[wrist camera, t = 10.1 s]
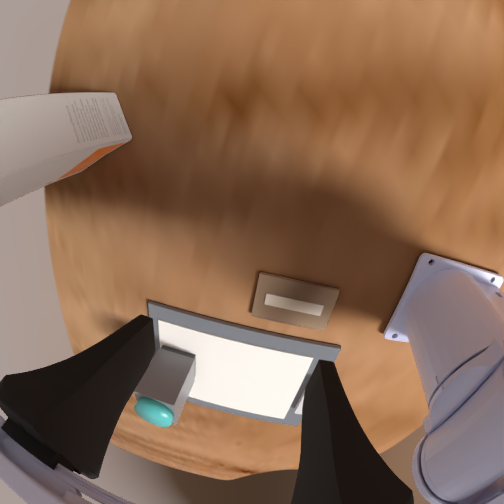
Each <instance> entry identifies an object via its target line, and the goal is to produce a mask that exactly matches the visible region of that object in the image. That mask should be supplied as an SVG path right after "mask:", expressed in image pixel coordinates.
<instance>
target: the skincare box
mask: <svg viewBox="0 0 504 504" xmlns="http://www.w3.org/2000/svg"><path fill="white" fill-rule="evenodd" d="M131 139H132V135H131V132H130V130H129V128H128V125H127V122H126V120H125V117H124V115H123V112H122V109H121V107H120V104H119V101H118V98H117V96H116V93H111V92H79V93H53V94H40V95H30V96H20V97H12V98H5V99H0V207H1V206H3V205H5V204H7V203H9V202H11V201H13V200H15V199H17V198H19V197H21V196H24V195H26V194H28V193H30V192H33V191H35V190H37V189H39V188H42V187H44V186H46V185H49V184H51V183H53V182H56V181H58V180H61V179H64V178H66V177H69V176H71V175H74V174H77V173H79V172H82V171H84V170H85V169H86V168H87V167H89V166H90V165H92V164H93V163H95V162H96V161H97V160H99V159H100V158H102V157H103V156H105V155H106V154H108V153H110V152H111V151H113V150H115V149H116V148H118V147H120V146H121V145H123V144H125V143H127V142H128V141H130V140H131Z"/></svg>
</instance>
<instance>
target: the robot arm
mask: <svg viewBox="0 0 504 504" xmlns="http://www.w3.org/2000/svg"><path fill="white" fill-rule="evenodd" d="M431 259H433V261H432V262H431V263H429V261H430V260H431ZM492 277H493V278H492ZM491 278H492V279H491ZM502 283H503V277H502V276H501V275H499V274H496V273H493V272H490V271H487V270H484V269H480V268H477V267H474V266H471V265H467V264H464V263H461V262H457V261H454V260H450V259H447V258H443V257H440V256H436V255H433V254H429V253H423V254H422V255H420V257H419V259H418V262H417V264H416V266H415V269H414V271H413V273H412V276H411V278H410V280H409V282H408V285H407V287H406V289H405V291H404V293H403V295H402V297H401V299H400V301H399V304H398V306H397V308H396V310H395V312H394V314H393V316H392V317H391V319H390V321H389V323H388V325H387V327H386V329H385V331H384V333H383V334H384V338H385V339H389V340H395V341H402V342H409V343H410V346H411V349H412V352H413V355H414V358H415V362H416V365H417V368H418V372H419V375H420V378H421V382H422V385H423V389H424V393H425V396H426V400H427V404H428V408H429V414H428V416H427V417H426V418H425V419H424V420H423V421H424V426H425V430H426V435H425V436H424V437H423V438H422V439H421V440H420V441H419V443H418V444H417V446H416V448H415V451H414V454H413V460H412V471H413V477H414V481H415V484H416V486H417V488H418V490H419V491H420V493H421V495H422V496H423V497H424V498H425V499H426V500H427V501H429V502H430V503H431V504H504V293H503V292H502V291H501V290H500V287H501V285H502ZM393 334H396V335H393ZM155 351H156V347H155V336H154V324H153V318H150V317H147V316H144V315H139V316H138V317H136V318H135V319H133V320H132V321H130V322H129V323H127V324H126V325H124V326H123V327H121V328H120V329H119V330H117V331H116V332H114V333H113V334H111V335H109V336H108V337H106V338H105V339H103V340H102V341H100V342H98V343H97V344H95V345H93V346H92V347H90V348H88V349H86V350H84V351H83V352H81V353H79V354H77V355H75V356H72V357H70V358H68V359H66V360H63V361H61V362H58V363H55V364H53V365H50V366H47V367H44V368H40V369H37V370H33V371H28V372H24V373H18V374H11V375H6V376H5V377H4V378H3V379H2V380H1V382H0V408H1V409H2V410H3V411H4V413H5V414H6V415H7V416H8V419H7V420H6V421H5V420H4V419H3V418H2V417H1V416H0V478H1V479H2V480H3V481H4V482H5V483H6V484H7V485H8V486H9V487H10V488H11V489H12V490H13V491H14V492H15V493H16V494H18V496H19V497H20V498H22V499H23V500H24V501H25V502H26V503H27V504H92V503H91V502H89V501H87V500H85V499H84V498H82V495H81V493H80V492H82V493H83V494H85V495H87V496H89V497H91V498H92V499H94V500H96V501H98V502H100V503H102V504H134V503H132V502H130V501H127V500H125V499H123V498H121V497H118V496H116V495H114V494H112V493H110V492H108V491H106V490H104V489H102V488H100V487H98V486H96V485H95V484H92V483H91V482H89V481H87V480H85V479H84V478H82V477H80V476H78V475H77V474H75V473H73V471H75V472H77V473H78V474H83V475H85V476H86V477H88V478H90V479H95V478H98V477H99V473H100V469H101V466H102V462H103V459H104V456H105V453H106V450H107V447H108V444H109V441H110V439H111V436H112V434H113V431H114V429H115V426H116V424H117V422H118V419H119V417H120V415H121V413H122V411H123V409H124V407H125V405H126V403H127V402H128V400H129V398H130V397H131V395H132V393H133V392H134V390H135V388H136V387H137V385H138V384H139V382H140V380H141V379H142V377H143V375H144V374H145V372H146V370H147V369H148V366H149V364H150V362H151V360H152V358H153V355H154V353H155ZM79 491H80V492H79ZM291 504H414V499H413V493H412V490H411V489H410V488H409V487H408V486H407V485H405V484H404V483H403V482H402V481H401V480H400V479H399V478H398V477H397V476H396V475H395V474H394V473H393V472H392V471H391V469H390V468H389V467H388V466H387V465H386V463H385V462H384V460H383V459H382V458H381V457H380V455H379V454H378V453H377V451H376V450H375V448H374V447H373V445H372V444H371V442H370V441H369V439H368V438H367V436H366V434H365V433H364V431H363V429H362V427H361V426H360V424H359V422H358V420H357V418H356V416H355V414H354V412H353V410H352V407H351V405H350V403H349V401H348V398H347V396H346V394H345V391H344V389H343V386H342V384H341V381H340V378H339V376H338V373H337V370H336V367H335V364H334V362H333V361H327V360H321V359H319V360H318V363H317V365H316V367H315V369H314V371H313V373H312V375H311V377H310V379H309V381H308V383H307V385H306V387H305V393H304V400H303V407H302V433H301V454H300V463H299V468H298V474H297V479H296V484H295V489H294V494H293V498H292V502H291Z"/></svg>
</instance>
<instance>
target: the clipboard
mask: <svg viewBox="0 0 504 504" xmlns="http://www.w3.org/2000/svg"><path fill="white" fill-rule="evenodd" d="M148 308H149V317H150V318H153V324H154V336H155V347H156V351H155V353H154V355H153V358H154V356H155V354H156V353H157V351H158V349H159V348H161V347H162V345H165V346H168V347H171V348H174V349H178V350H181V351H184V352H188V353H191V354H195V355H196V372H195V381H194V384H193V386H192V388H191V391H190V393H189V396H188V398H187V401H188V402H191V403H194V404H198V405H201V406H205V407H208V408H212V409H215V410H219V411H223V412H227V413H231V414H235V415H239V416H244V417H248V418H253V419H258V420H263V421H268V422H273V423H279V424H285V425H291V426H298V425H299V423H300V421H301V420H302V407H303V400H304V393H305V387H306V385H307V383H308V381H309V379H310V377H311V375H312V373H313V371H314V369H315V367H316V365H317V363H318V360H319V359H321V360H327V361H333V362H335V360H336V358H337V356H338V354H339V352H340V350H341V346H340V345H334V344H328V343H323V342H317V341H312V340H307V339H302V338H297V337H292V336H287V335H282V334H277V333H273V332H268V331H264V330H259V329H255V328H251V327H246V326H242V325H238V324H234V323H230V322H226V321H222V320H218V319H214V318H210V317H206V316H203V315H199V314H195V313H192V312H188V311H184V310H181V309H177V308H174V307H170V306H167V305H164V304H160V303H157V302H154V301H149V302H148Z"/></svg>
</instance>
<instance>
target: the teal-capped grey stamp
mask: <svg viewBox="0 0 504 504" xmlns="http://www.w3.org/2000/svg"><path fill="white" fill-rule="evenodd" d="M195 372H196V355H195V354H191V353H188V352H184V351H181V350H178V349H174V348H171V347H168V346H165V345H162V347H161V348H159V349H158V351H157V353H156V354H155V356H154V358H153V359H152V361H151V363H150V365H149V366H148V369H147V370H146V372H145V374H144V375H143V377H142V379H141V380H140V382H139V384H138V385H137V387H136V389H135V391H134V393H135V396H136V400H137V403H136V405H135V407H134V408H135V411H136V412H137V414H138V415H139V416H140V417H142V418H143V419H144V420H146V421H148V422H150V423H152V424H154V425H157V426H161V427H168V426H170V425H171V423H172V424H175V425H177V422H178V420H179V417H180V415H181V413H182V410H183V408H184V405H185V403H186V401H187V398H188V396H189V393H190V391H191V388H192V386H193V384H194V381H195Z"/></svg>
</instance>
